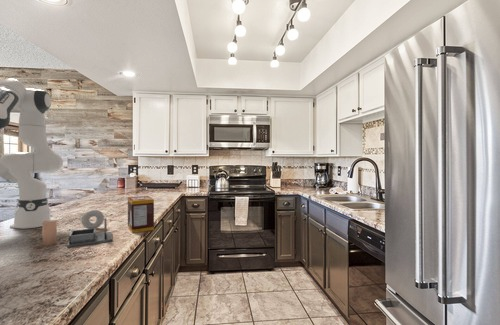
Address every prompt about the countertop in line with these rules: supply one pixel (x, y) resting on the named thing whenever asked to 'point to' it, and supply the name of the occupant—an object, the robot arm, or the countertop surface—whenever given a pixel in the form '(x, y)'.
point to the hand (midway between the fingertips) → (14, 181)
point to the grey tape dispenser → (89, 236)
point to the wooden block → (49, 232)
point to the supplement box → (140, 213)
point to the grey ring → (90, 213)
